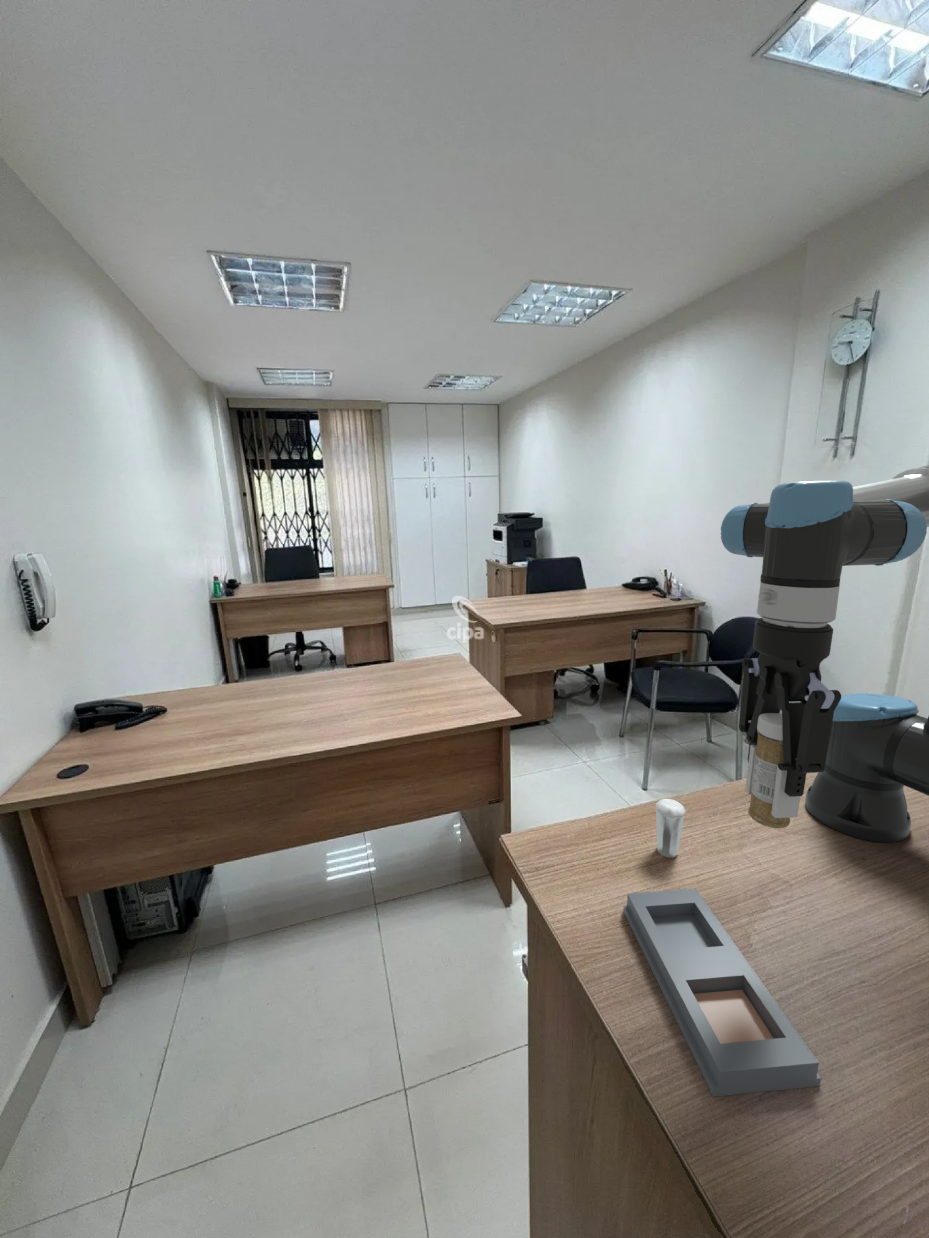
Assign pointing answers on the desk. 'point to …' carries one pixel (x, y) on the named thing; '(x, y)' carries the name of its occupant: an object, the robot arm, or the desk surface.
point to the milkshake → (669, 826)
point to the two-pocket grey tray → (718, 997)
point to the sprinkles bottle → (767, 770)
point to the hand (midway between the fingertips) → (770, 803)
